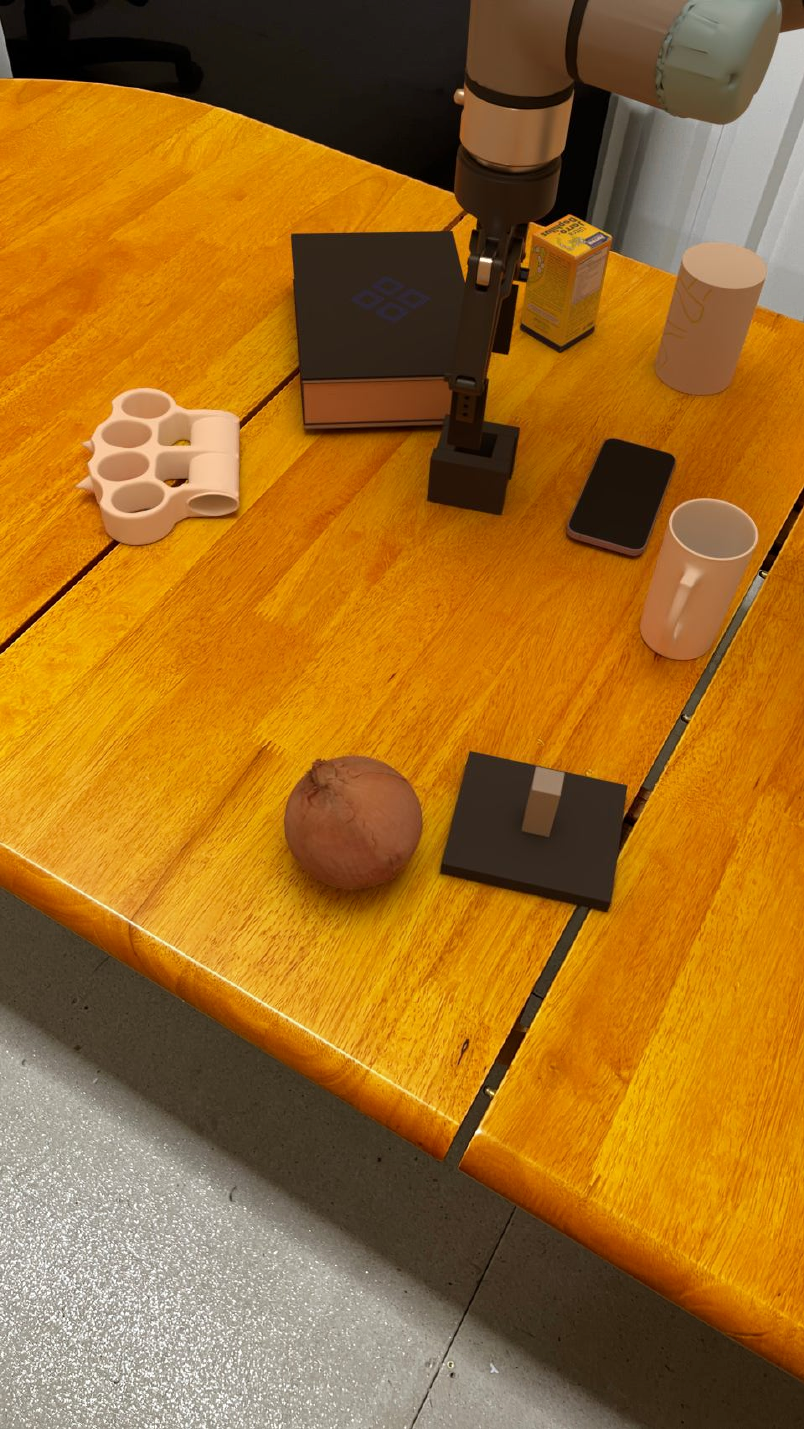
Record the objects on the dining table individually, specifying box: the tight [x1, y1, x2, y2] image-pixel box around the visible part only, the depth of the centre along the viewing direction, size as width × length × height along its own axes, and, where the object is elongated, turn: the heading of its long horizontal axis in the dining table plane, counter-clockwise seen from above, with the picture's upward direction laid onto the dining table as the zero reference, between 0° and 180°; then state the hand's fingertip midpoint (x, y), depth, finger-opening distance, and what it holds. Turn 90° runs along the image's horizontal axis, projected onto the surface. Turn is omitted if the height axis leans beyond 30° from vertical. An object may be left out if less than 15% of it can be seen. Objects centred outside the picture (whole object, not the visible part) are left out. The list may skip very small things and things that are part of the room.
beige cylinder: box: [654, 241, 768, 396], centre depth 110 cm, size 8×8×12 cm
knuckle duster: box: [74, 387, 241, 546], centre depth 101 cm, size 3×18×15 cm
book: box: [290, 230, 466, 431], centre depth 112 cm, size 17×25×7 cm
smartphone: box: [566, 437, 677, 557], centre depth 102 cm, size 7×1×15 cm
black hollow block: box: [426, 414, 521, 516], centre depth 101 cm, size 7×7×5 cm
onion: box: [283, 755, 424, 891], centre depth 75 cm, size 10×9×10 cm
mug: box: [639, 497, 759, 661], centre depth 87 cm, size 10×7×12 cm, turn 151°
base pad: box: [439, 750, 628, 913], centre depth 78 cm, size 12×10×7 cm
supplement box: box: [519, 214, 613, 353], centre depth 114 cm, size 6×6×11 cm
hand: (479, 395), depth 95 cm, fingers open, 13 cm apart
